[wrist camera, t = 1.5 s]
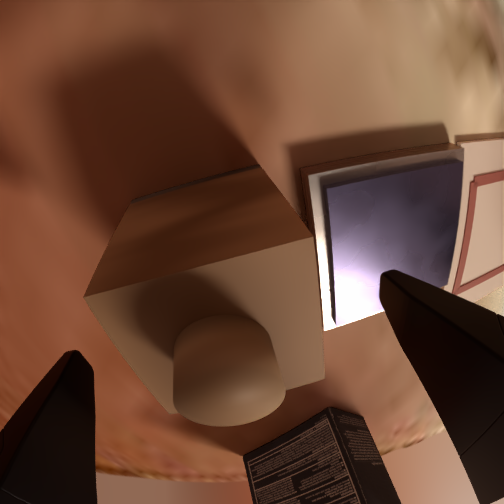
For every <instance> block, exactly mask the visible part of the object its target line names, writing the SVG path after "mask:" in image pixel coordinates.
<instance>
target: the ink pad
mask: <svg viewBox="0 0 504 504" xmlns="http://www.w3.org/2000/svg"><path fill="white" fill-rule="evenodd" d="M463 172H464V148H463V147H460V146H458V145H455V144H452V143H445V144H437V145H429V146H422V147H415V148H408V149H401V150H395V151H388V152H382V153H376V154H370V155H365V156H359V157H354V158H348V159H343V160H338V161H333V162H328V163H323V164H318V165H313V166H308V167H304V168H300V174H301V180H302V187H303V194H304V200H305V207H306V215H307V222H308V230H309V231H310V233H311V234H312V235H313V238H314V246H315V255H316V264H317V274H318V285H319V295H320V307H321V320H322V327H323V329H324V331H326V330H329V329H332V328H335V327H338V326H341V325H344V324H347V323H350V322H353V321H356V320H359V319H362V318H365V317H367V316H370V315H373V314H376V313H379V312H381V311H384V309H383V307H382V305H381V303H380V299H379V287H380V276H381V274H382V273H383V272H385V271H388V270H391V269H396V270H398V271H401V272H403V273H406V274H408V275H410V276H413V277H415V278H418V279H420V280H422V281H425V282H427V283H429V284H432V285H434V286H436V287H439V288H441V287H443V286H446V285H448V281H449V277H450V272H451V267H452V262H453V257H454V251H455V245H456V239H457V232H458V225H459V217H460V209H461V199H462V187H463Z"/></svg>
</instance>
